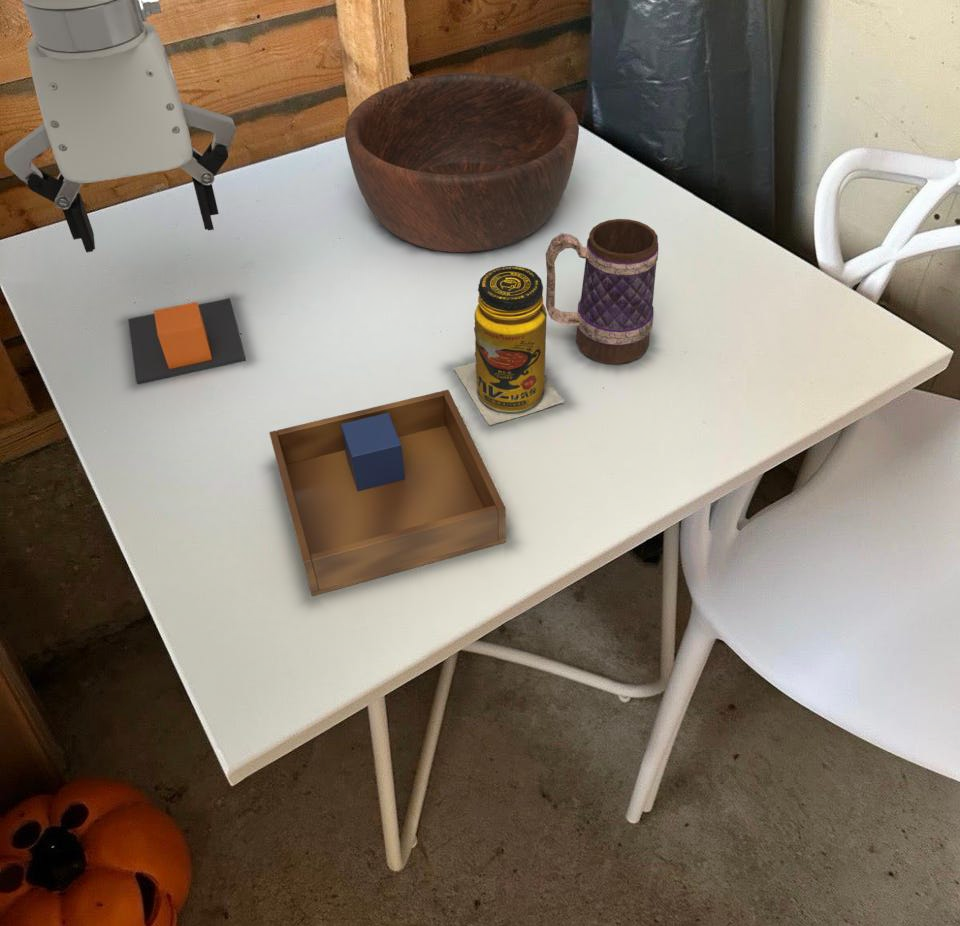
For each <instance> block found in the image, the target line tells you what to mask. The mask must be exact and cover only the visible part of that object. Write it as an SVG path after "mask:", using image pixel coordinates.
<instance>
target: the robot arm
mask: <svg viewBox="0 0 960 926" xmlns="http://www.w3.org/2000/svg"><path fill="white" fill-rule="evenodd" d="M21 3H22V7H23V9H24V13H25V15H26V18H27V21H28V24H29V26H30V30H31V33H32V36H33V37H32V38H31V39H29V41H28V42H27V43H26V45H27V55H28V63H29V68H30V72H31V73H30V74H31V77H32V82H33V85H34V86H33V87H34V90H35V95H36V98H37V102H38V107H39V110H40V114H41V118H42V121H43V123H42V124H40V125H39V126H38V127H36V128H35V129H33V130H32V131H31V132H30V133H28V134H27V135H25V136H24V137H23V138H22V139H20V140H19V141H18V142H16V143H15V144H14V145H12V146H11V147H10V148H8V149H7V150H6V151H5V152H4V165H5V166H6V168H8V170H10V171H11V172H12V173H13V174H14V175H15V176H17V178H18V179H19V180H20V181H22V182H24V183H25V184H26V185H27V187H28V189H29V190H30V191H32V192H33V193H35V194H37V195H39V196H41V197H43V198H45V199H47V200H48V201H50V202H52V203H54V205H55V206H56V207H57V209H59V210H62V212H63V215H64V218H65V221H66V223H67V226H68V229H69V232H70V234H71V237H72V240H73V241H74V240H80V239H81V242H82V245H83V247H84V251H85V253H92V252H94V250H96V243H95V234H94V230H93V227H92V224H91V221H90V219H89V216H88V212H87V210H86V207H85V204H84V201H83V198H82V194H81V193H80V190H81V188H82V187H83V184H89V183H90V184H91V183H97V182H104V181H110V180H116V179H122V178H130V177H136V176H142V175H147V174H153V173H159V172H164V171H170V170H174V169H175V170H176V169H181V170H182V171H184V172H185V173H186V174H188V175H189V176H190V177H191V179H192V183H193V187H194V191H195V195H196V199H197V205H198V208H199V212H200V215H201V220H202V223H203V226H204V230H207V231H214V230H215V227H214V223H213V220H212V216H216V215H220V214H219V209H218V204H217V200H216V197H215V192H214V187H213V183H214V182H215V177H216V176H217V174H218V173H219V172H220V169H221V168H222V167H223V166H224V164H225V163H226V161H227V160H228V158H229V152H230V149H231V147H232V143H233V140H234V137H235V133H236V130H237V128H236V125H235V123H234V120H233V118H232V117H230V116H228V115H225V114H222V113H219V112H216V111H212V110H209V109H206V108H202V107H199V106H196V105H193V104H190V103H186V102H183V101H182V99H181V96H180V92H179V89H178V86H177V81H176V78H175V75H174V72H173V69H172V66H171V63H170V60H169V58H168V54H167V52H166V50H165V47H164V45H163V42H162V40H161V37H160V35H159V33H158V32H157V30H156V27H155V26H154V25H153V24H151V23H149V22H147V21H148V19H147V18H148V17H152V15H156V14H162V9H161V4H160V1H159V0H21ZM189 127H193V128H196V129H199V130H202V131H206V132H209V133H211V134H213V139H212V141H211V142H210V144H208V146H207V148H206V149H205V151H204V152H203V154H202V153H201V152H199V151H198V150H197V149H195V147H193V145H192V139H191V135H190V134H191V133H190V129H189ZM49 148H51V151H52V154H53V157H54V160H55V162H56V165H57V168H58V170H59V174H58V176H57V177H54V176H53V175H51V174H49V173H48V172H45V171H43V170H41V169H39V168H38V167H37V166H36V165H35V163H33V162H32V161H33V160H34V159H36V158H37V157H38V156H40V155H42V154H43V153H44V152H45V151H46V150H48V149H49Z"/></svg>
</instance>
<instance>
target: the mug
mask: <svg viewBox="0 0 960 926" xmlns="http://www.w3.org/2000/svg"><path fill="white" fill-rule="evenodd" d="M566 249H573V250H575V251H576V253H577V255H578V257H579V258H580V259H585V262H584V271H583V278H582V285H581V293H580V294H581V295H580V300H579V302H578V304H577V310H576V311H561V310H559V309H557V308H556V307H555V305H556V266H555V262H556V260H557V258H558V256H559V254H560V253H561V252H562V251H564V250H566ZM658 260H659V237H658V234H657V233H656V231H655V230H654V229H653V228H652V227H650V226H649V225H648V224H646V223H644V222H641V221H639V220H634V219H629V218H615V219H608V220H605V221H602V222H598V224H596V225H595V226H593V227H592V229H591V230H590V232H589V234H588V238H587V241H586V246H583V245H582V243H581V242H580V240H579V238H577V237H576V236H574V235H572V234H569V233H563V232H561V233H559V234H558V235H556V236H554V237H553V238H552V239H551V241H550V243H549V245H548V247H547V250H546V251H545V265H546V267H545V268H546V291H545V309H546V312H547V315H548V316H549V318H550V319H551V320H553V321H554V322H557V323H559V324H565V325H571V326H577V327H576V333H575V335H576V336H575V343H576V345H577V347H578V349H579V350H580V351H581V353H583V354H584V355H585V356H587V357H589V358H591V359H592V360H594V361H596V362H600V363H603V364H609V365H610V364H612V365H619V364H626V363H629V362H632V361H634V360H637V359H639V358H640V357H641V356H643V355H644V354H645V353H646V352H647V351H648V348H649V346H650V336H651V331H652V329H653V327H654V325H653V324H654V315H655V312H654V306H653V305H654V293H655V282H656V273H657V272H656V271H657V263H658Z"/></svg>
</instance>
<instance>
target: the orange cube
mask: <svg viewBox="0 0 960 926" xmlns="http://www.w3.org/2000/svg"><path fill="white" fill-rule="evenodd" d="M198 305H199V302H198V301H194V302H189V303H184V304H179V305H173V306H169V307H164V308H159V309H154V310H153V314H154V315H155V321H156V328H157V334H158V338H159V341H160V344H161V347H162V350H163V353H164V356H165V359H166V361H167V364H168V367H169V369H173V368H178V367H182V366H187V365H191V364H196V363H200V362H205V361H210V360H212V356H211V351H210V347H209V342H208V337H207V333H206V330H205V326H204V323H203V320H202V316H201V313H200V309H199V306H198Z"/></svg>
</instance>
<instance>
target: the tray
mask: <svg viewBox="0 0 960 926" xmlns="http://www.w3.org/2000/svg"><path fill="white" fill-rule="evenodd" d="M385 413H389V415H390V418H391V420H392V423H393V425H394V428H395V430H396V433H397V435H398V438H399V440H400V443H401V446H402V455H403V464H404V473H405V479H404V480H400V481H396V482H392V483H388V484H385V485H381V486H377V487H373V488H369V489H365V490H361V491H357V488H356V485H355V482H354V479H353V476H352V473H351V470H350V467H349V464H348V461H347V458H346V452H345V446H344V440H343V435H342V429H341V424H343V423H348V422H352V421H356V420H360V419H364V418H368V417H373V416H377V415H381V414H385ZM269 437H270V441H271V445H272V450H273V452H274V455H275V456H274V458H275V460H276V464H277V467H278V473H279V476H280V481H281V484H282V488H283V492H284V495H285V499H286V503H287V507H288V512H289V515H290V518H291V522H292V526H293V530H294V534H295V538H296V541H297V545H298V549H299V552H300V557H301V561H302V564H303V568H304V572H305V576H306V580H307V583H308V587H309V591H310V595H311V596H312V597H313V596H318V595H321V594H324V593H328V592H332V591H335V590H340V589H342V588H347V587H349V586H353V585H354V586H355V585H357V584H361V583H364V582H367V581H371V580H375V579H378V578H382V577H386V576H389V575H393V574H396V573H400V572H403V571H407V570H411V569H414V568H418V567H421V566H425V565H429V564H432V563H436V562H441V561H444V560H447V559H450V558H454V557H457V556H461V555H464V554H468V553H472V552H476V551H479V550H483V549H486V548H490V547H493V546H498V545H501V544H505V543H506V536H507V535H506V534H507V533H506V529H507V528H506V511H507V510H506V509H507V508H506V506H505V504H504V502H503V500H502V498H501V496H500V494H499V492H498V489H497V487H496V486H495V482H493V479H492V478H491V477H492V476H491V475H490V473H489V471H488V469H487V466H486V465H485V462H484V461H483V458H482V457H481V454H480V452H479V450H478V448H477V446H476V444H475V441H474V439H473V438H472V435H471V433H470V431H469V429H468V427H467V425H466V422H465V421H464V418H463V417H462V415H461V413H460V410H459V409H458V406H457V404H456V402H455V400H454V398H453V396H452V394H451V392H450V390H449V389H444V390H441V391H436V392H433V393H428V394H423V395H420V396H419V395H418V396H415V397H410V398H407V399H403V400H399V401H398V400H397V401H394V402H390V403H386V404H381V405H378V406H374V407H368V408H365V409H361V410H357V411H356V410H355V411H353V412H348V413H343V414H339V415H335V416H331V417H327V418H323V419H319V420H318V419H317V420H314V421H310V422H306V423H301V424H297V425H294V426H289V427H285V428H280V429H277V430H272V431H269Z"/></svg>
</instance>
